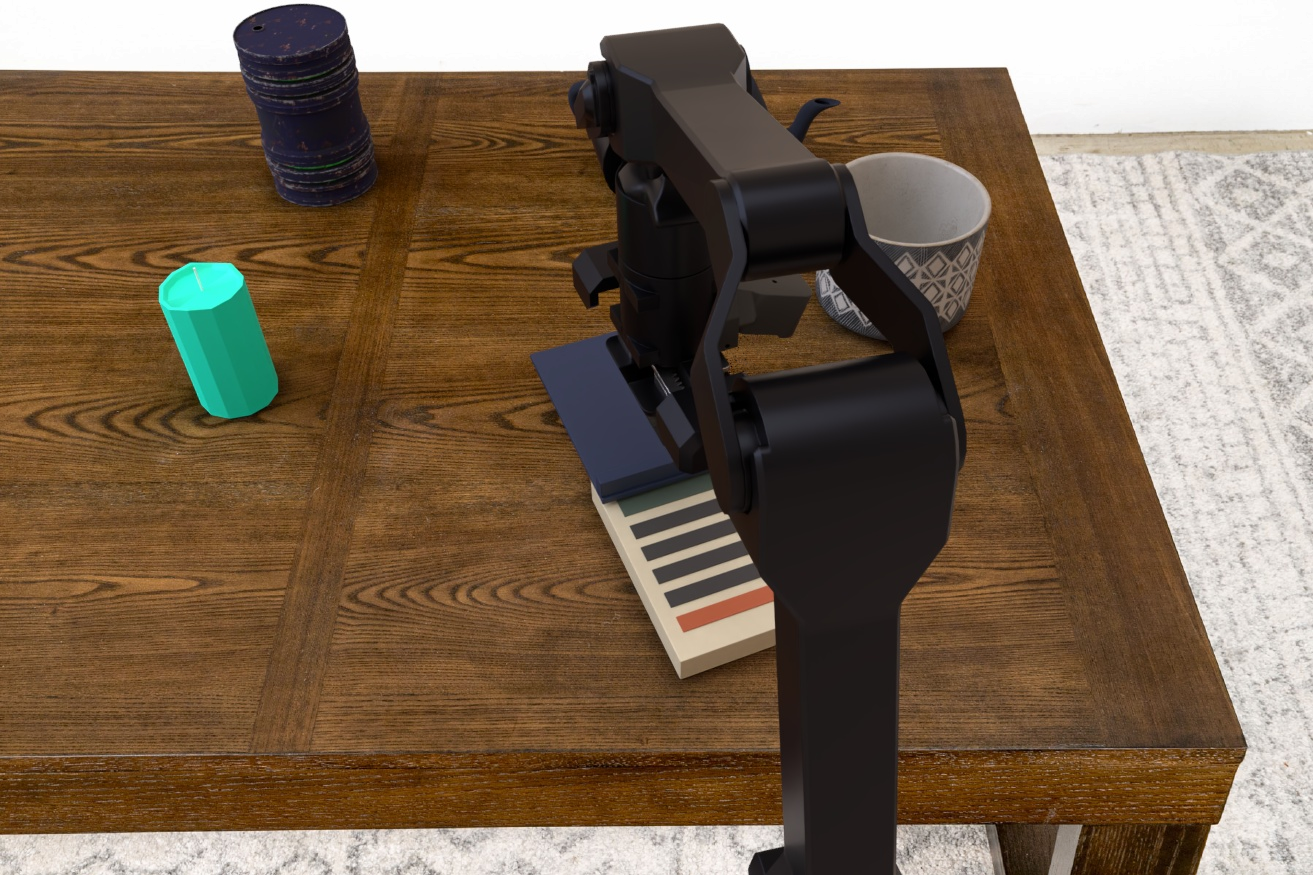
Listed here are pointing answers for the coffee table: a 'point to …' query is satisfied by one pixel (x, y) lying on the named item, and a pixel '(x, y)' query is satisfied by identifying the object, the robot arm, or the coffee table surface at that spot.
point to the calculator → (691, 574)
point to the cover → (604, 420)
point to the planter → (917, 232)
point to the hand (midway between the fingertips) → (669, 441)
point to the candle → (219, 338)
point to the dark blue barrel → (307, 103)
